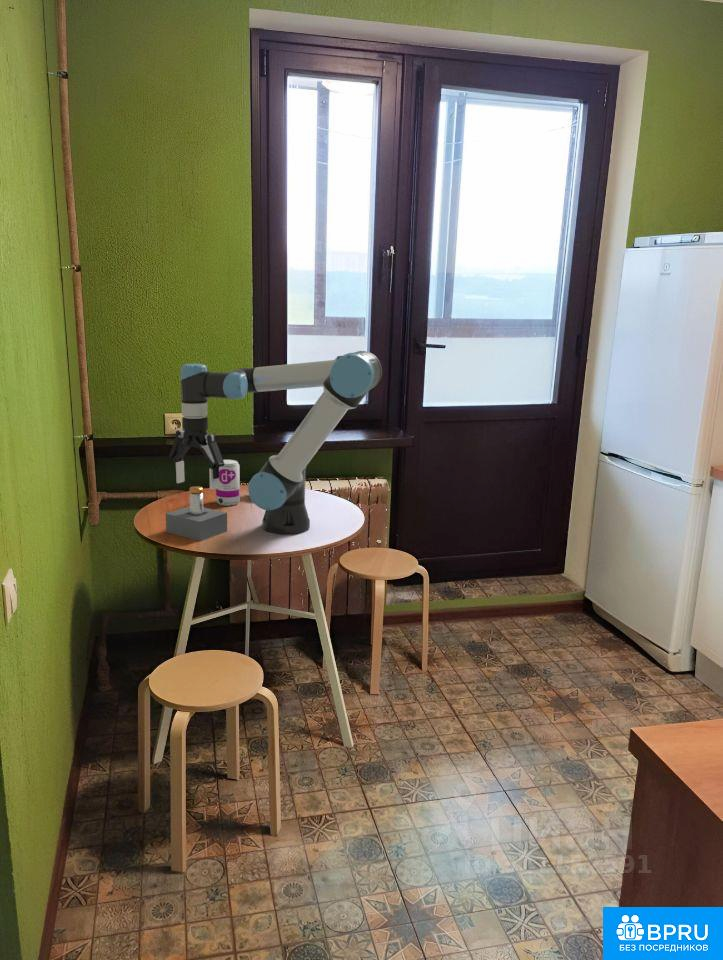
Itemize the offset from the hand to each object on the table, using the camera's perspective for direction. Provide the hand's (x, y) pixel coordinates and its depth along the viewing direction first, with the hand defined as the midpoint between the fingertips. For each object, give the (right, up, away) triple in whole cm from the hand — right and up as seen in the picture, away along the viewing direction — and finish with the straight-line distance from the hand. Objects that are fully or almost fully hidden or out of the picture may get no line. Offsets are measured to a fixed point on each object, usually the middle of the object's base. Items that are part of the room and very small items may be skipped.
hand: (196, 485), depth 225 cm
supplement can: (+3, -7, +36) cm, 37 cm away
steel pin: (-1, -14, +4) cm, 15 cm away
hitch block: (-1, -14, +4) cm, 15 cm away
